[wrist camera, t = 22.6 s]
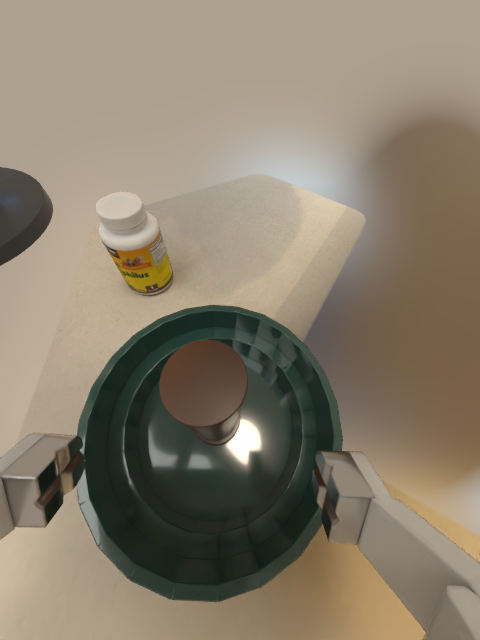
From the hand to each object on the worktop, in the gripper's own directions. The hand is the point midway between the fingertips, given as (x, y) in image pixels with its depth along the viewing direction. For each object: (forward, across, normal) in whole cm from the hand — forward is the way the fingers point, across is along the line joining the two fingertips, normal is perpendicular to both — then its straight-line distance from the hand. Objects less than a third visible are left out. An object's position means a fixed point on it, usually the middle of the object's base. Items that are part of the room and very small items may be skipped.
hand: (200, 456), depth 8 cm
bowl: (+11, 0, +8) cm, 14 cm away
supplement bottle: (+23, +10, -3) cm, 25 cm away
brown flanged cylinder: (+11, 0, +7) cm, 13 cm away
